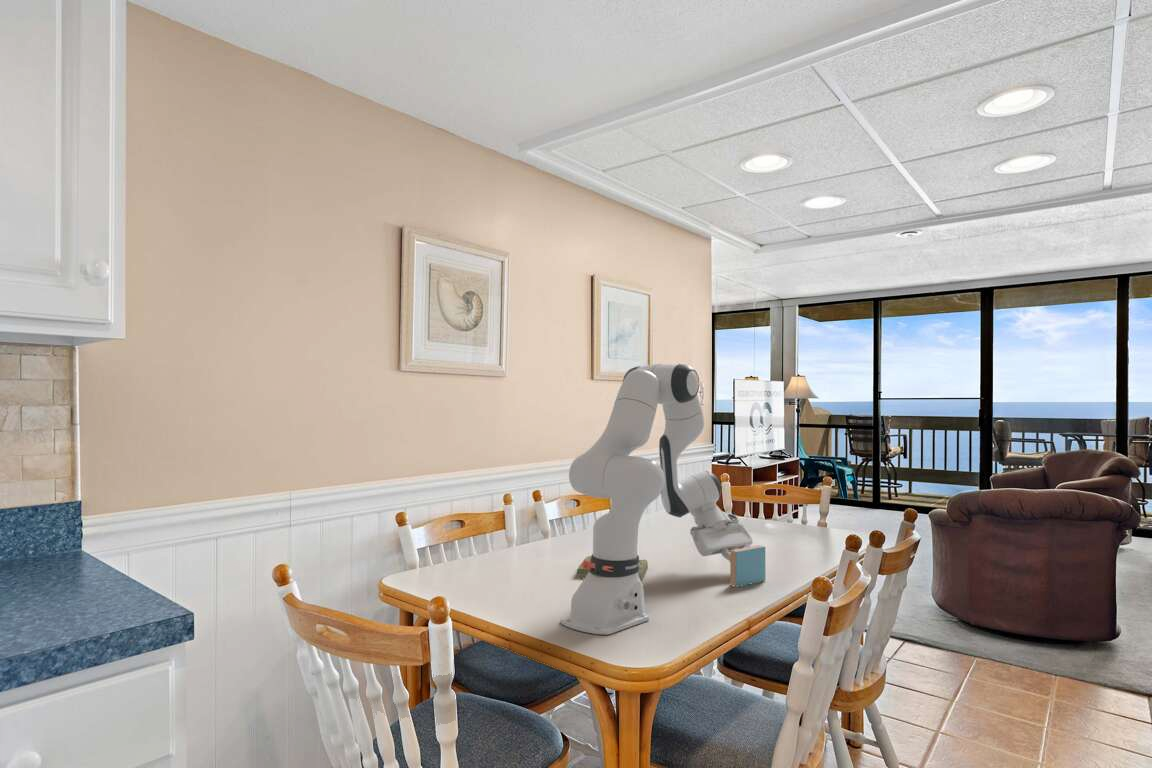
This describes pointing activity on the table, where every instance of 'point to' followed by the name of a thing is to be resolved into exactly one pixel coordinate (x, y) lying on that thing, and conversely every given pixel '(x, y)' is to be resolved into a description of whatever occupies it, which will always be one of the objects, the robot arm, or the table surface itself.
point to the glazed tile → (747, 565)
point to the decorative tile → (583, 572)
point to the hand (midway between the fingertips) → (736, 563)
